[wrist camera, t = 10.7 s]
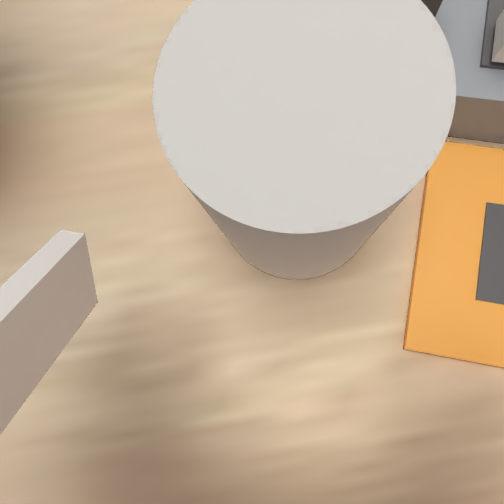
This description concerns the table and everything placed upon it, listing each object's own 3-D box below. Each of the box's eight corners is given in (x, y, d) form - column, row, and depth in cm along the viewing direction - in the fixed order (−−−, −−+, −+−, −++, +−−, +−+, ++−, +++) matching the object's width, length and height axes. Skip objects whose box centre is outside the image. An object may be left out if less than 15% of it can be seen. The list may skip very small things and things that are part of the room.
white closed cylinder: (394, 162, 23) (497, -2, 12) (341, 303, 22) (394, 281, 11) (255, 114, 25) (220, -77, 13) (199, 246, 24) (105, 171, 12)
